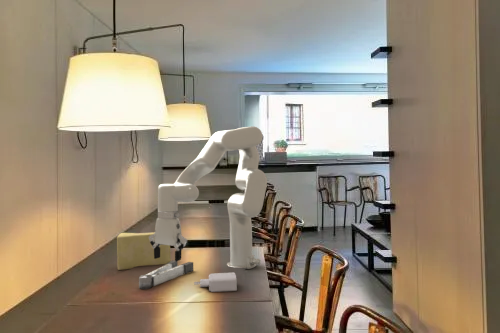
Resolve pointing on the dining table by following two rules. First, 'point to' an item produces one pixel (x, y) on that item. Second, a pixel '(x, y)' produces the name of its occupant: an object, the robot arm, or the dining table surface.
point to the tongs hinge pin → (145, 281)
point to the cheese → (139, 251)
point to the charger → (219, 282)
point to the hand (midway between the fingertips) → (167, 259)
